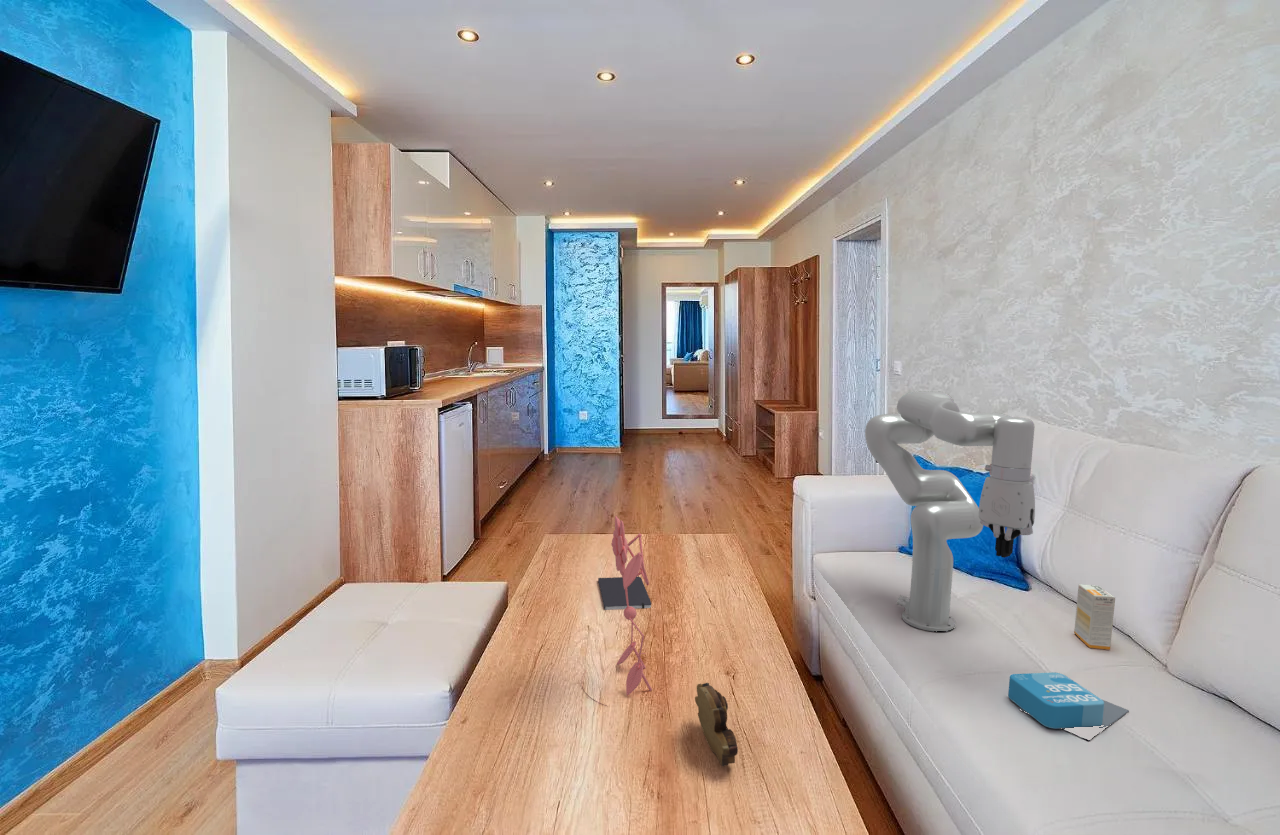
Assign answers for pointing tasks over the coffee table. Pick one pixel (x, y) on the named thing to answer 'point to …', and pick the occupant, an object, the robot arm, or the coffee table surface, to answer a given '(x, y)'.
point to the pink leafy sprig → (630, 613)
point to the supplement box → (1094, 616)
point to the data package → (1056, 700)
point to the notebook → (623, 593)
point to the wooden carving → (716, 723)
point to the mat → (1110, 713)
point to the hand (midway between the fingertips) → (1003, 555)
